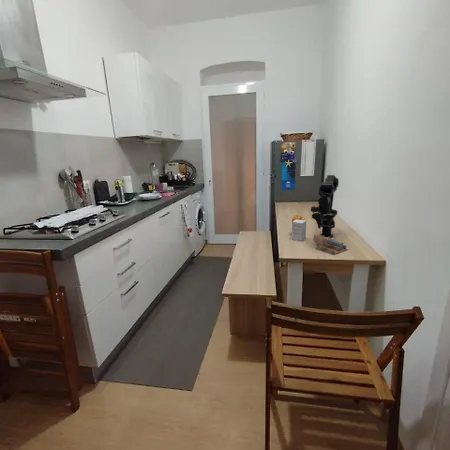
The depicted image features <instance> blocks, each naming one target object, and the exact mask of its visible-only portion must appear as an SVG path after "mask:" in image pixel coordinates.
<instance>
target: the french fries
mask: <svg viewBox="0 0 450 450" xmlns="http://www.w3.org/2000/svg"><path fill="white" fill-rule="evenodd" d="M296 219H297V220H305V221H306V217H304V216H302V214H298V213H297V214H295V215H293V216H292V217H291V223H292V222H293V221H294V220H296Z"/></svg>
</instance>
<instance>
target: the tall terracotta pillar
mask: <svg viewBox="0 0 450 450" xmlns="http://www.w3.org/2000/svg"><path fill="white" fill-rule="evenodd" d="M327 240H328V237H326V236H322V235H320V234H313V242H316V243H318V244H320V245H321V246H323V243H327Z"/></svg>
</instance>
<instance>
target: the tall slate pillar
mask: <svg viewBox="0 0 450 450" xmlns="http://www.w3.org/2000/svg"><path fill="white" fill-rule="evenodd" d="M326 244H330V245H333V246H336V247H339V248H340V250H341V249H343V245H344V242H342V241H339V240H336V239H332V238H329V239H328V238H327V243H326Z"/></svg>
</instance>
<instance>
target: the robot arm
mask: <svg viewBox="0 0 450 450" xmlns="http://www.w3.org/2000/svg"><path fill="white" fill-rule="evenodd" d="M339 181H340V180H339V178H337V177H336V175H333V174H330V175H329V174H328V175H327V176H326V178H325V180H324V181H322V182H321V183H320V185H319V189H318V196H319V195H320V197H319V199H318V206H314V205H313V206H311V207H310V212H312V214H311V219H313V220H315V222H316V225H317V228H318V229H321V228H322V229H321V233H320V234H319V235H321V236H324V237H326V238H329V237H333V236H334V233H333V234H332V230H333V229H334V228H336V227H335V226H336V222H335V217H336V216H337V215H338V210H337V209H333V205H334V204H333V203H334V198H335V197H334V195H335V193H336V191H337V189H338V187H339Z"/></svg>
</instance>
